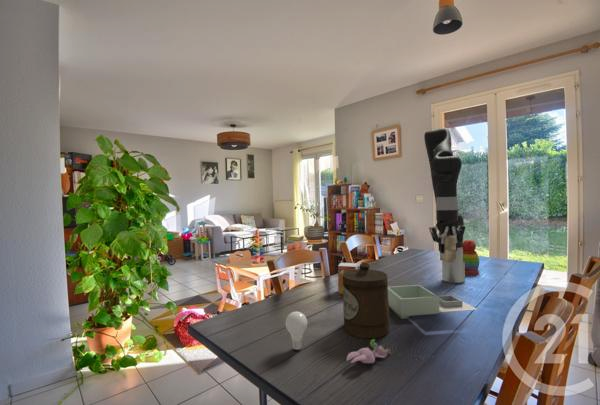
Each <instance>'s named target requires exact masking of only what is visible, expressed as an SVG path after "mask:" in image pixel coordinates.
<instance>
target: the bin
mask: <svg viewBox="0 0 600 405" xmlns="http://www.w3.org/2000/svg"><path fill="white" fill-rule="evenodd" d="M438 296H439V295H437V294H435V293H434V292H432V291H431V290H428V289H427V288H426V287H423V286H422V285H421V284H413V285H397V286H394V285H392V286H388V301H389V309H391V310H392V312H394V313H395V315H396V316H398V317H399V318H400V320H404V319H411V317H412V316H423V315H425V316H426V315H437V314H440V311H439V297H438Z"/></svg>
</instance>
